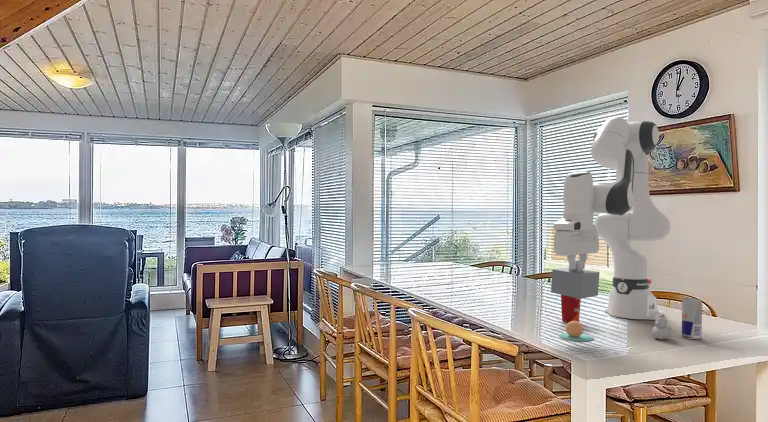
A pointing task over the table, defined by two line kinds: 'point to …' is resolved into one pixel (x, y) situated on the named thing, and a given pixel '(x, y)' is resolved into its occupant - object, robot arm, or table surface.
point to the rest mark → (581, 338)
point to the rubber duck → (661, 329)
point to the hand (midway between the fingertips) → (577, 269)
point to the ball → (574, 329)
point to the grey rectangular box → (575, 281)
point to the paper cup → (570, 308)
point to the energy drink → (692, 318)
